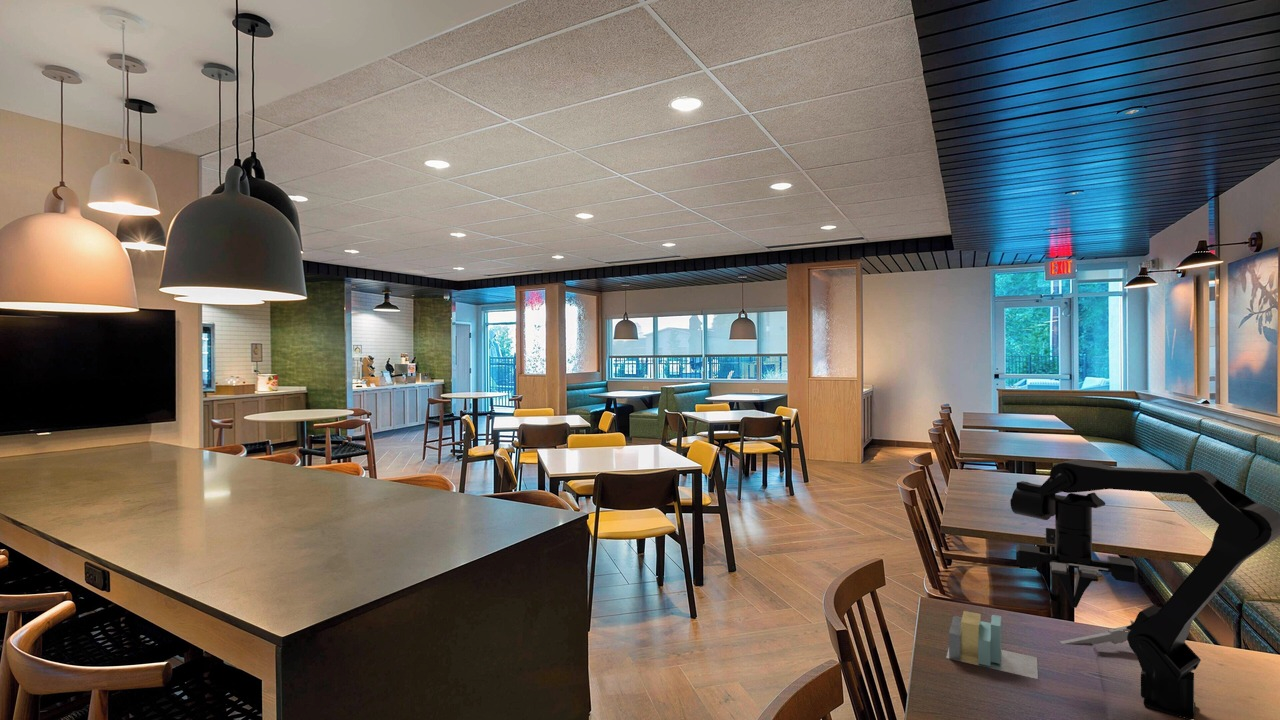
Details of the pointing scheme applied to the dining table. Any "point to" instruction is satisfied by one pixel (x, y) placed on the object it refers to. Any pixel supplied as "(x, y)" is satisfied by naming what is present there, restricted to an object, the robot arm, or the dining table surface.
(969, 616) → the brass block
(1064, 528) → the robot arm
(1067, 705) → the dining table surface
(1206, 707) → the dining table surface
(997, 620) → the block
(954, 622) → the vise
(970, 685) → the dining table surface
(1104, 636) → the grey long thin bar
